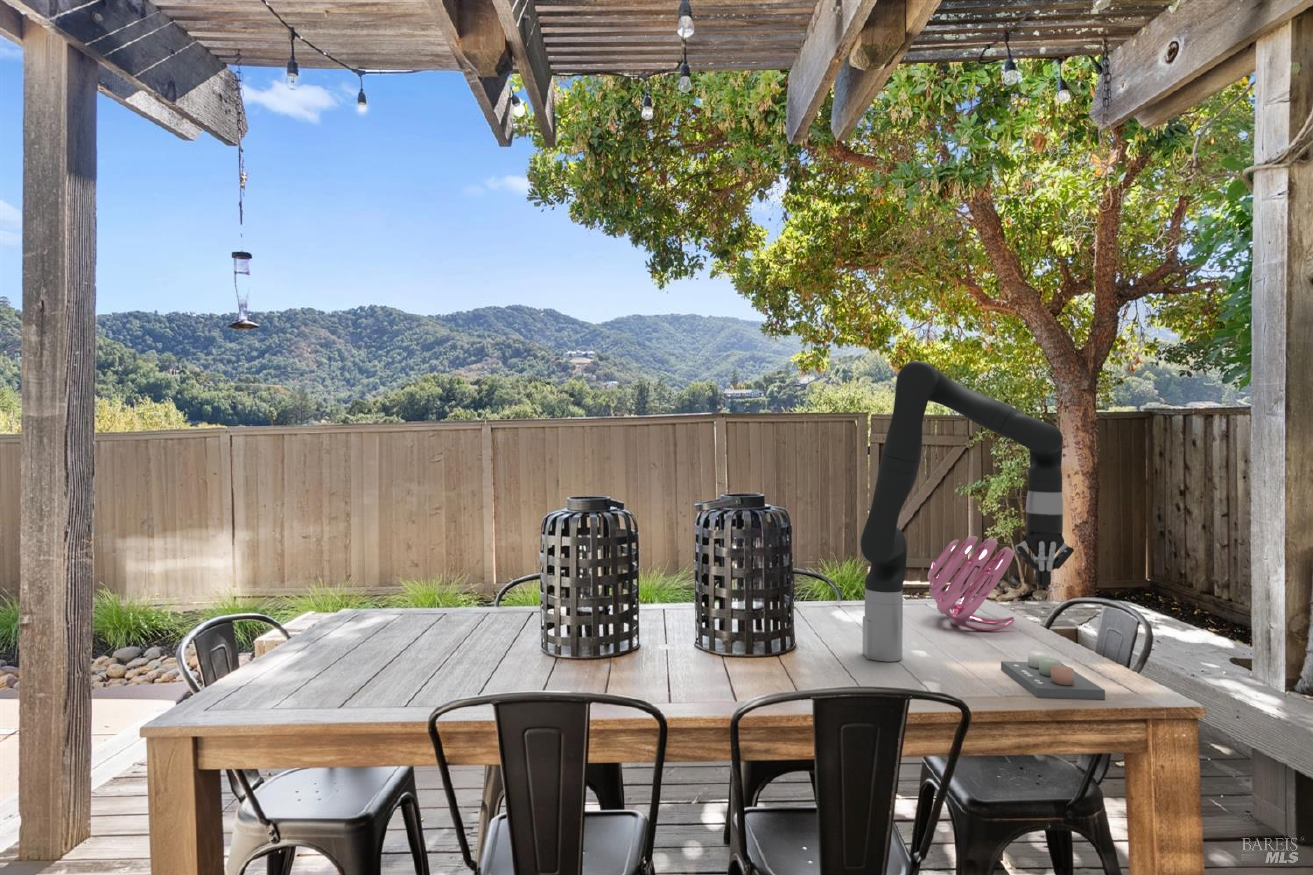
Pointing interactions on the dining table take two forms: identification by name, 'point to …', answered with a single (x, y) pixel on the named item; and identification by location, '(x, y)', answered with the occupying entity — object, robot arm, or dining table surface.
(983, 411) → the robot arm
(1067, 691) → the charcoal panel
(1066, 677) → the terracotta button
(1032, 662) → the cream button
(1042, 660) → the sage button
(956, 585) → the spiral basket
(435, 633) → the dining table surface
